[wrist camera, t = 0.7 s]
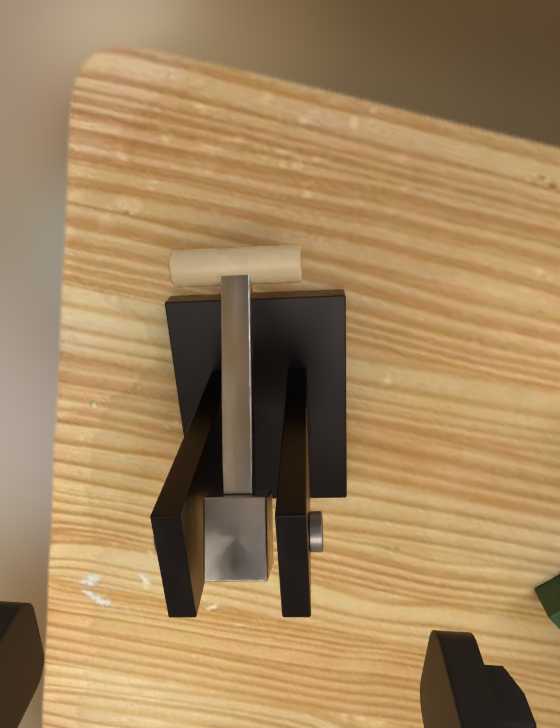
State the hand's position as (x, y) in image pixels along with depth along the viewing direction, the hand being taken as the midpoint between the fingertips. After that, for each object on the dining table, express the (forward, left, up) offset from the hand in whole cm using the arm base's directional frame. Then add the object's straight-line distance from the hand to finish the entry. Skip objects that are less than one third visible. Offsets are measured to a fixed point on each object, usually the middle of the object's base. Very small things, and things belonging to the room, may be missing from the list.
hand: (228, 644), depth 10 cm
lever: (+1, -1, -11) cm, 11 cm away
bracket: (+3, +2, -19) cm, 19 cm away
